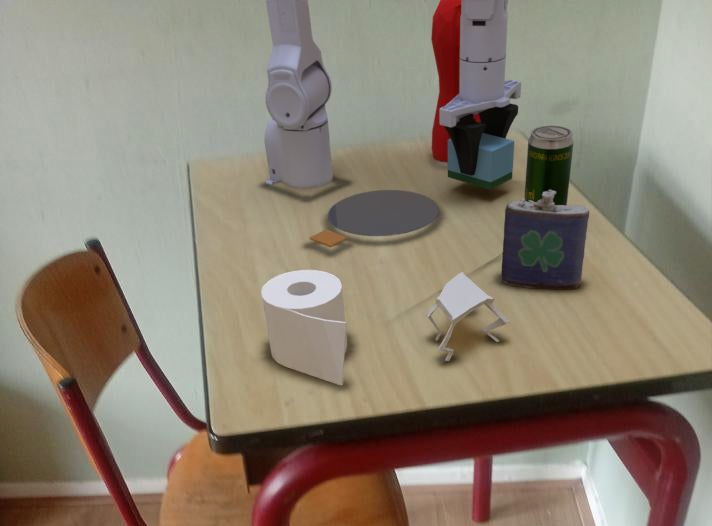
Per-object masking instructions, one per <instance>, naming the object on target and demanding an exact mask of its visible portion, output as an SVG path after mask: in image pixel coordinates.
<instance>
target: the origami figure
mask: <svg viewBox="0 0 712 526" xmlns="http://www.w3.org/2000/svg"><path fill="white" fill-rule="evenodd" d="M464 272H465V271H460V272H459V273H458V274H456V275H455V276H454V277H453V278H451V279H450V280H449V281H448V282H447V283H446V284H445V285H444V287H443V288H442V290H441V292H440V294H439V296H437V297H436V298H435V303H434V305H433V306H432V307H431V308H430V310H429V311H427V313H426V317H427V318H428V320H429V321H430V322H431V324H432V325H433V327H434V328H435V329H436V330H437V332H438V334H437V335H436V337H435V339H434V340H435V342H438V341H439V340H440V338H441V335H442V331H441V329H440V328H439V327H438V325H437V323H436V322H435V320H434V318H433V317H432V315H433V314H434V312H435V311H436V310H437V309H438V308H439V309H441V310H440V311H442V312H443V314H444V315H445V316H446V317H447V319H448V320H449V322H450V326H449V328H448V330H447V332H446V334H445V336H444V337H443V340H442V341H441V343H440V345H439V346H438V351H442V352H448V354H447V355H446V357H445V360H444V361H445V362H449V361H450V360H451V358H452V356H453V355H454V352H455V351H454V349H452V348H447V345H448V343H449V340H450V339H451V336H452V333H453V331H454V328H455V326H456V324H457V323H459V322H460V321H461V320H463V319H464V318H465V317H467V316H468V315H469V314H472V312H473V311H475V310H477V309H479V308H480V307H482V306H483V305H484V306H485V307H487V308H488V309H489V310H490V311H491V312H493V314H494V315H496V316H497V317H498V319H496V320H494V321H493V322H491V323H489V324H488V325H486V326H484V327H482V328H481V330H482V331H483V332H484V333H485V334H486V335H488V336H489V337H490V338H491V339H493V340H494V341H495V342H496V343H497V342H500V339H498V338H497V336H494V334H492V333H491V332H490V331H492V330H494V329H497V328H500V327H502V326H504V325H505V326H506V325H508V324H511V321H509V319H508V318H507V317H506V316H505V315H504V314H502V313H503V312H501V311H500V310H499V309H498V307H496V306H495V305H494V304H493V303H494V301H495V298H493V297H492V296H490V295H488V294H487V293H486V292H485V291H483V290H482V289H481V288H480V287H479V286H478V285H477V284H476V283H474V281H472V280H471V279H470V278H469V277H468V276H467V275H465V274H464Z"/></svg>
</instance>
